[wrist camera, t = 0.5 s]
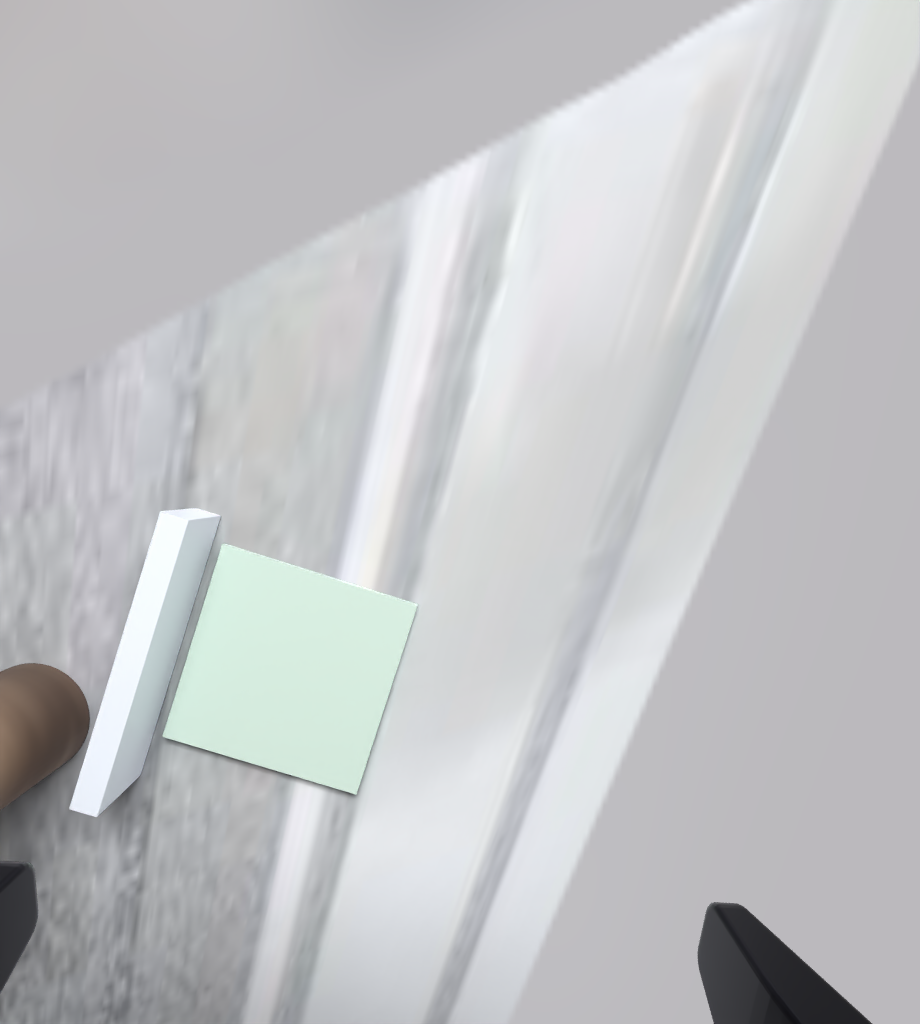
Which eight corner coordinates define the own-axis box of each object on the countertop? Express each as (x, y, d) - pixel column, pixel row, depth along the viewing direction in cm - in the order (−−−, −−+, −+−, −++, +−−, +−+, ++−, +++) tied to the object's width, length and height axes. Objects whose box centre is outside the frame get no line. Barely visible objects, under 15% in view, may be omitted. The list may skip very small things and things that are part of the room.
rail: (140, 775, 24) (97, 817, 21) (116, 768, 24) (68, 809, 21) (221, 515, 23) (188, 520, 20) (196, 507, 23) (160, 511, 20)
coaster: (357, 789, 24) (356, 794, 24) (167, 732, 24) (162, 736, 23) (417, 604, 24) (417, 606, 23) (225, 543, 23) (222, 544, 23)
